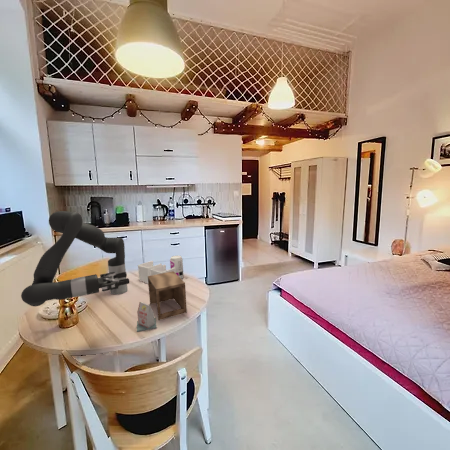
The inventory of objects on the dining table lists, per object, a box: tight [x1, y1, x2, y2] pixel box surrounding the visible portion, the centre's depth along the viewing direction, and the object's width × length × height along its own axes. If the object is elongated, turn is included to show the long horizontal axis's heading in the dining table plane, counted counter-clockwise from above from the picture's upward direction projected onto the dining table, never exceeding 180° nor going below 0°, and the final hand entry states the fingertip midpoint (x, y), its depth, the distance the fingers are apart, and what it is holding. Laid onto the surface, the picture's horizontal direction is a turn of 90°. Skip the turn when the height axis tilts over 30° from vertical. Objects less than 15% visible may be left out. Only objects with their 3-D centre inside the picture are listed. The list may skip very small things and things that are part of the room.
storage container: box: [137, 260, 176, 285], centre depth 167 cm, size 25×11×11 cm, turn 51°
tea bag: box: [136, 301, 155, 328], centre depth 116 cm, size 4×7×10 cm, turn 57°
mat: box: [136, 317, 158, 333], centre depth 117 cm, size 8×8×1 cm
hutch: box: [147, 271, 188, 321], centre depth 131 cm, size 14×19×16 cm
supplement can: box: [169, 255, 184, 280], centre depth 172 cm, size 8×8×15 cm
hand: (127, 277), depth 110 cm, fingers open, 8 cm apart
